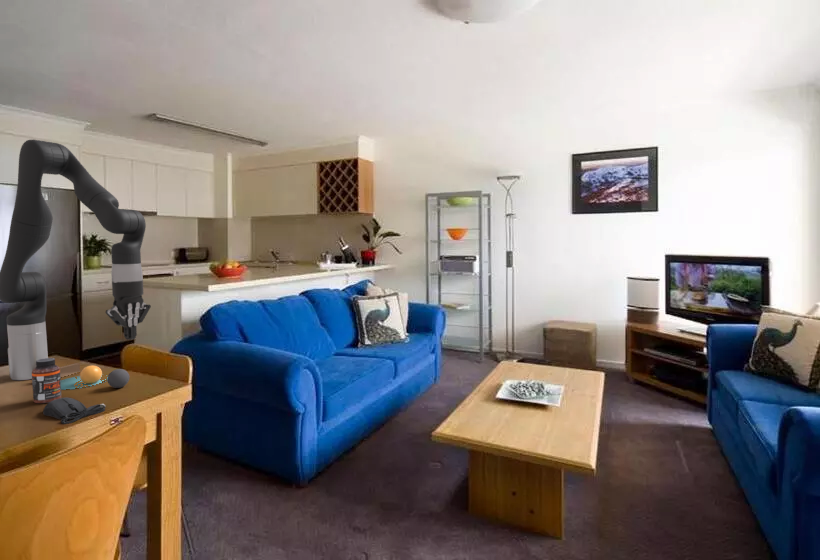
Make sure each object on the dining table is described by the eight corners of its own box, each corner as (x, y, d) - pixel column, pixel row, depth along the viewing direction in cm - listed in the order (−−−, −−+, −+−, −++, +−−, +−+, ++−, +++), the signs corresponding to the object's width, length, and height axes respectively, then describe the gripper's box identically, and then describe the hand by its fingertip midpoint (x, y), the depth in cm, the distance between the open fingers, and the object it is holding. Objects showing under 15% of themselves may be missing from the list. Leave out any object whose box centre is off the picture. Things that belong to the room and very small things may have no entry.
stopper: (36, 383, 135) (36, 373, 134) (76, 372, 146) (76, 363, 146) (40, 383, 134) (39, 373, 134) (80, 372, 146) (79, 363, 145)
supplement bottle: (45, 405, 117) (42, 363, 116) (27, 403, 118) (24, 361, 117) (67, 397, 123) (64, 357, 122) (49, 395, 124) (47, 356, 123)
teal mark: (40, 386, 131) (40, 386, 131) (87, 373, 145) (87, 372, 145) (74, 391, 127) (74, 391, 127) (119, 377, 140) (119, 377, 140)
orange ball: (91, 382, 131) (79, 389, 132) (109, 377, 136) (97, 383, 138) (84, 365, 131) (72, 372, 133) (102, 360, 136) (90, 367, 138)
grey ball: (118, 376, 127) (114, 393, 128) (135, 370, 132) (132, 387, 133) (104, 368, 129) (101, 385, 129) (121, 364, 134) (118, 380, 135)
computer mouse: (72, 403, 119) (71, 390, 119) (109, 411, 114) (108, 397, 114) (28, 417, 110) (27, 402, 110) (66, 427, 105) (65, 411, 104)
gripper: (138, 277, 134) (140, 333, 136) (95, 281, 121) (98, 343, 123) (157, 278, 132) (160, 335, 133) (115, 282, 119) (119, 345, 121)
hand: (130, 339), depth 128 cm, fingers closed
